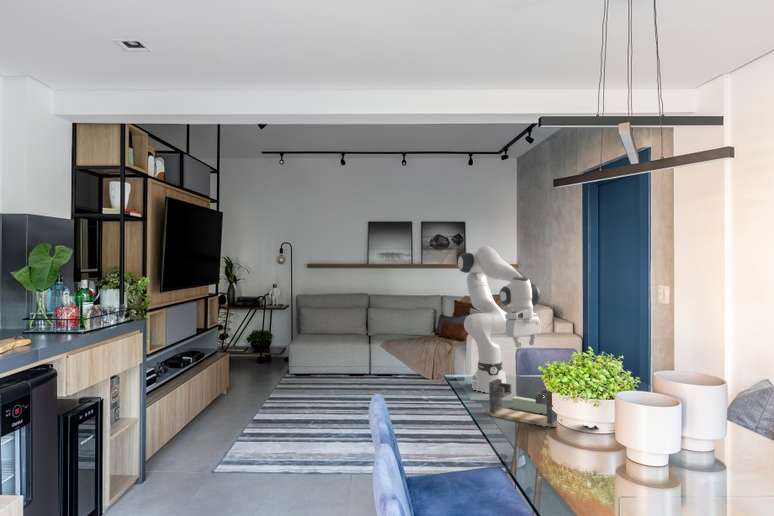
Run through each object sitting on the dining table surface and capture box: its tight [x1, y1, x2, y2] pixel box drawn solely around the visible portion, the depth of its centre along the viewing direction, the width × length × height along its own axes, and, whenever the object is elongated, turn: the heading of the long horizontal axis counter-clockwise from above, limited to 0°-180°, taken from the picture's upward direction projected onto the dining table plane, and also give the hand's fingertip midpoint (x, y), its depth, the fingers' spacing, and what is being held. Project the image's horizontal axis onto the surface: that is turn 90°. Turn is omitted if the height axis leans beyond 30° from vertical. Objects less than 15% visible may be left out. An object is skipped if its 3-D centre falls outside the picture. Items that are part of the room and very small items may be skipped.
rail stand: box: [487, 379, 557, 428], centre depth 206 cm, size 29×8×14 cm, turn 50°
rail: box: [511, 395, 547, 415], centre depth 215 cm, size 20×3×5 cm, turn 51°
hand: (525, 346), depth 216 cm, fingers open, 8 cm apart
